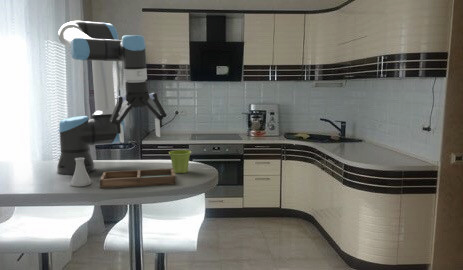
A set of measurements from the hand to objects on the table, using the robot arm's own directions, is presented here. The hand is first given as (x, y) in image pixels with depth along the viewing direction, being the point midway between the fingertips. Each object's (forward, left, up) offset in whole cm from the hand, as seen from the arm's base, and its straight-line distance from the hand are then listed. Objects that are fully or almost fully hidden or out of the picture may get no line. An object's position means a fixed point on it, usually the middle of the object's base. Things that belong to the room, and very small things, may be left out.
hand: (140, 139), depth 138 cm
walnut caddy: (-6, -1, -17) cm, 18 cm away
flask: (-6, -22, -18) cm, 29 cm away
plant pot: (-19, +16, -17) cm, 30 cm away
